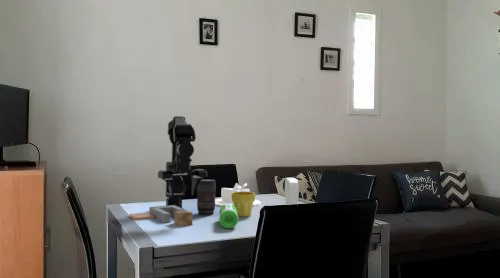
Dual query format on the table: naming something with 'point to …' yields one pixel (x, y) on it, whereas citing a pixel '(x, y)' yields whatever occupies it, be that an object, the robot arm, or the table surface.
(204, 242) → the table surface
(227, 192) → the dish
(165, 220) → the pocket board
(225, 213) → the speaker
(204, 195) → the camera lens
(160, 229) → the table surface
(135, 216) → the terracotta tile
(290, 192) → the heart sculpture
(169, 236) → the table surface
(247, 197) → the plant pot
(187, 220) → the walnut block
